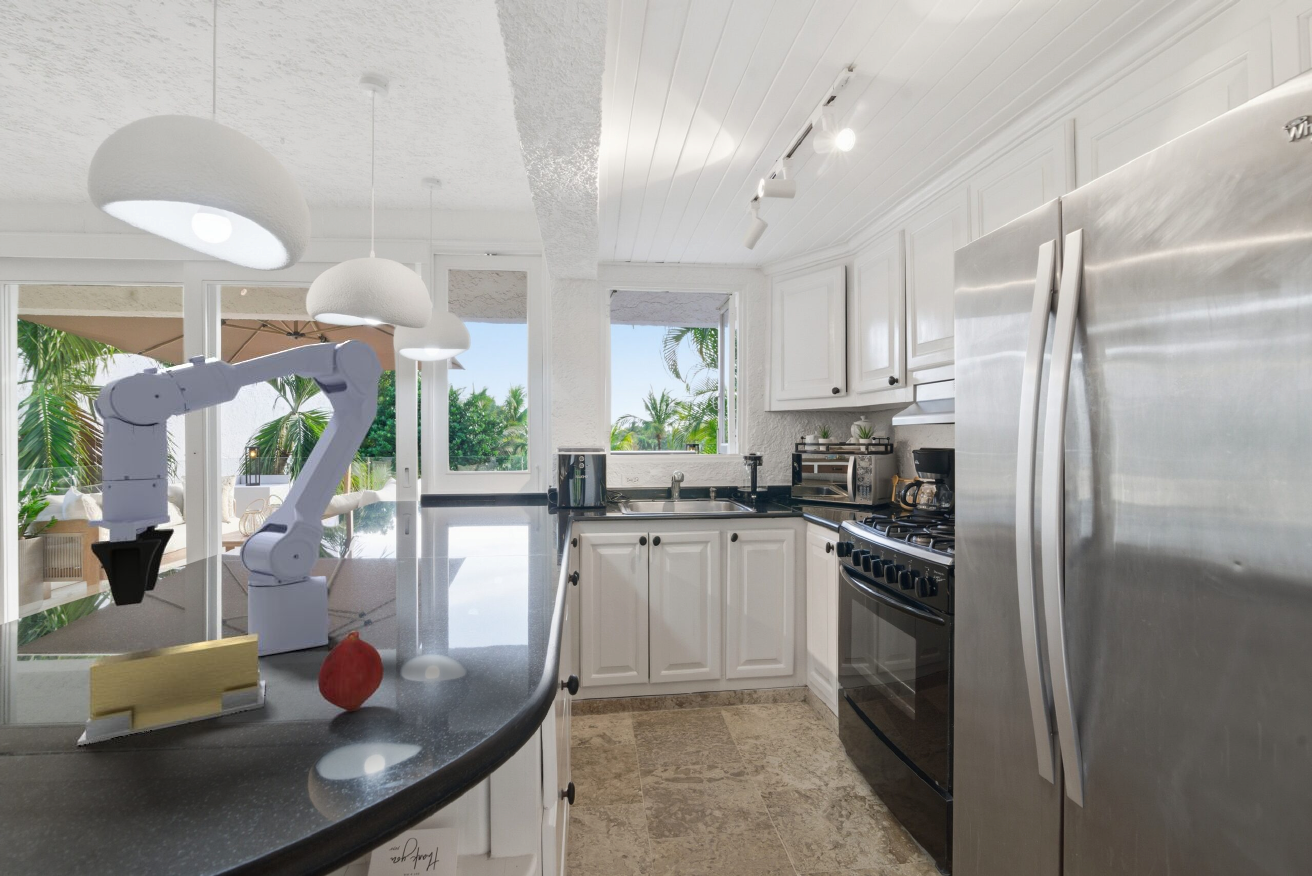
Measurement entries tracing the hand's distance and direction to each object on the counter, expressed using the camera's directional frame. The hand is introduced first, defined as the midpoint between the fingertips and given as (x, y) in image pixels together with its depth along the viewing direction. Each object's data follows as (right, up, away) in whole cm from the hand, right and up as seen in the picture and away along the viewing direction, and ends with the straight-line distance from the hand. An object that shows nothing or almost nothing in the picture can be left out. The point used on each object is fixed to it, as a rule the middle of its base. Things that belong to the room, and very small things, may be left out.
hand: (136, 597), depth 68 cm
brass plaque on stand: (+12, -9, -8) cm, 17 cm away
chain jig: (+12, -10, -8) cm, 17 cm away
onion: (+29, -9, -9) cm, 32 cm away
